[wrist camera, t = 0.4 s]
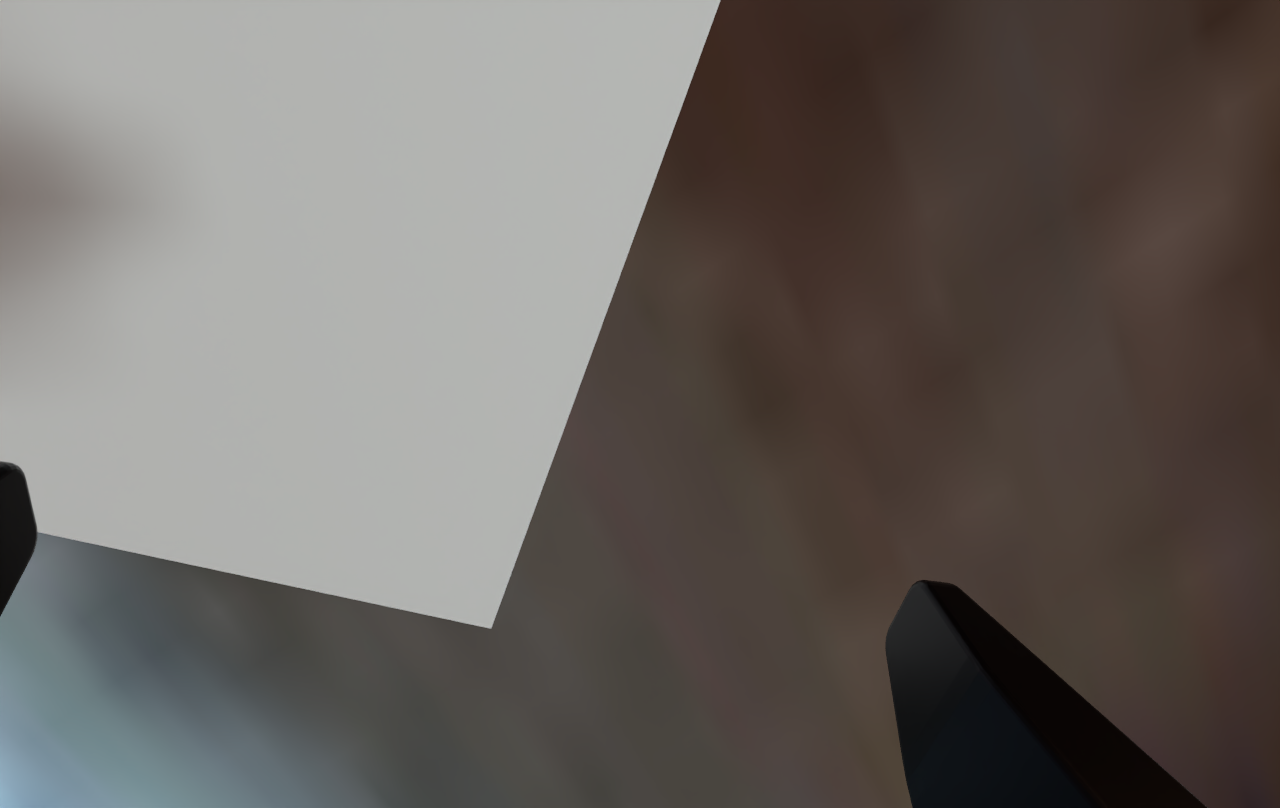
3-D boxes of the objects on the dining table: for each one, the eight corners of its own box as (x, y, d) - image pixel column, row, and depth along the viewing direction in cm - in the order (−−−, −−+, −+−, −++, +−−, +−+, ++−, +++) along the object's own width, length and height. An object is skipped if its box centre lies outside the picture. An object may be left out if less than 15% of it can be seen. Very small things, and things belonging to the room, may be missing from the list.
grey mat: (491, 619, 26) (491, 628, 26) (-168, 477, 22) (-181, 485, 22) (736, -54, 19) (740, -55, 19) (-191, -463, 15) (-210, -475, 14)
